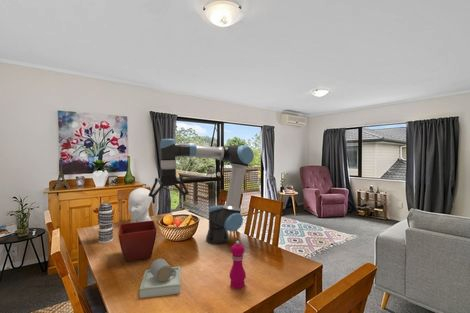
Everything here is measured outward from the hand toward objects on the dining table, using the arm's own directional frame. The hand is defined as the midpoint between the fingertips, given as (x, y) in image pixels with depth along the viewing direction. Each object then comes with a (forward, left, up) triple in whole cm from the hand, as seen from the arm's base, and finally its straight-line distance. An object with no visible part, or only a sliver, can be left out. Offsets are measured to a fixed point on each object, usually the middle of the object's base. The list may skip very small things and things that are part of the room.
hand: (169, 208), depth 126 cm
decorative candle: (+43, -43, -30) cm, 68 cm away
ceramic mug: (+1, +19, -27) cm, 33 cm away
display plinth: (+2, +20, -30) cm, 36 cm away
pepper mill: (-31, +27, -30) cm, 51 cm away
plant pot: (+18, -14, -30) cm, 38 cm away
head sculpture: (+27, -75, -30) cm, 85 cm away
